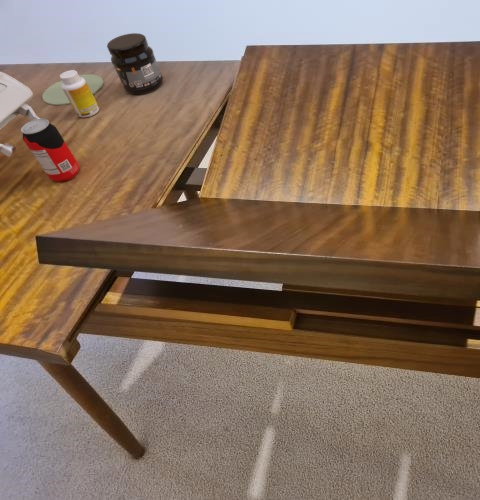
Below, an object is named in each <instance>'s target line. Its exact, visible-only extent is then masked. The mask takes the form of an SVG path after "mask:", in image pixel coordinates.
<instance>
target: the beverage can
mask: <svg viewBox="0 0 480 500" xmlns="http://www.w3.org/2000/svg"><path fill="white" fill-rule="evenodd" d="M20 131H21V133H22V140H23V142H24V144H25V145H26V146H27V148H28V149H29V151H30V152H31V154H32V155H33V157H34V158H35V159H36V161H37V163H38V164H39V166H40V167H41V168H42V169H43V171H44V173H45V174H46V175H47V177H48V178H49V179H50V180H51V181H54V182H60V183H62V182H68V181H70V180H72V179H74V178H75V177H76V176H77V175H78V174H79V171H80V164H79V162H78V161H77V159H76V157H75V156H74V154H73V153H72V150H71V149H70V148H69V145H67V143H66V141H65V140H64V138H63V136H62V135H61V133H60V131H59V130H58V128H57V126H55V125H54V124H52V123H50V121H49V120H48V119H46V118H41V119H36V120H33V121H31V120H29V121H28V122H26V123H24V124H23V125H22V127H21V128H20Z"/></svg>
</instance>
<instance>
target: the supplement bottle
mask: <svg viewBox="0 0 480 500" xmlns="http://www.w3.org/2000/svg"><path fill="white" fill-rule="evenodd" d="M79 75H80V74H79V73H78V71H77V70H75V69H70V70H66V71H64V72H62V73H60V74H59V78H60V81H61V80H62V82H63V83H62V85H61V87H62V89H63V91H64V93H65V95H66V96H67V98H68V100H69V102H70V103H71V104H70V105H71V107H72V109H73V110H74V112H75V114H76V116H77V117H79V118H83V119H84V118H90V117H93V116H94V115H96V114H97V113H99V111H100V106H99V104H98V102H97V100H96V98H95V96H94V95H93V94H92V92H91V91H90V89H89V87H88V85H87V83H86V81H85V79H84V78H82V77H79Z"/></svg>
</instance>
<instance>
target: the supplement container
mask: <svg viewBox="0 0 480 500" xmlns="http://www.w3.org/2000/svg"><path fill="white" fill-rule="evenodd" d="M106 48H107V50H108V52H109V54H110V55H111V57H110V62H111V64H112V65H113V68H114V69H115V72H116V74H117V76H118V78H119V81H120V82H121V85H122V87H123V89H124V91H125V92H126V93H128V94H130V95H144V94H150V93H151V92H154V91H155V90H158V89H159V88H160V87H161V85H163V82H164V76H163V74H162V72H161V70H160V66H159V64H158V61H157V60H156V56H155V54H154V50H153V48H152V47H151V46H149V42H148V40H147V37H146V35H144V34H143V33H135V32H132V33H126V34H122V35H119V36H116V37H114V38H112V39H111V40H110V41H108V42H107V45H106Z"/></svg>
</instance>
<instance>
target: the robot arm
mask: <svg viewBox="0 0 480 500" xmlns="http://www.w3.org/2000/svg"><path fill="white" fill-rule="evenodd" d="M33 99H34V93H33V91H32V90H31V88H30V87H28V86H27V85H25V84H24V83H22V82H21V81H20V80H18V79H16V78H14V77H12V76H11V75H10V74H7V73H5V72H2V71H0V131H1V130H2V129H4V128H5V127H6V126H7V125H8V124H9V123H11V122H12V121H13V120H14V119H15V118H16V117H18V116H19V115H21V116H23V117H27V118H28V119H29V121H33V120H36V119H42V118H41V117H39V116H38V115H37V114H36V113H35V111H34V109H33V107H32V106H31V104H32V101H33ZM16 149H17V148H16V147H15V146H14V145H11V144H10V143H9V142H4V143H0V153H1V154H2V155H4V156H6V157H11V156H13V154H15V152H16Z"/></svg>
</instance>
